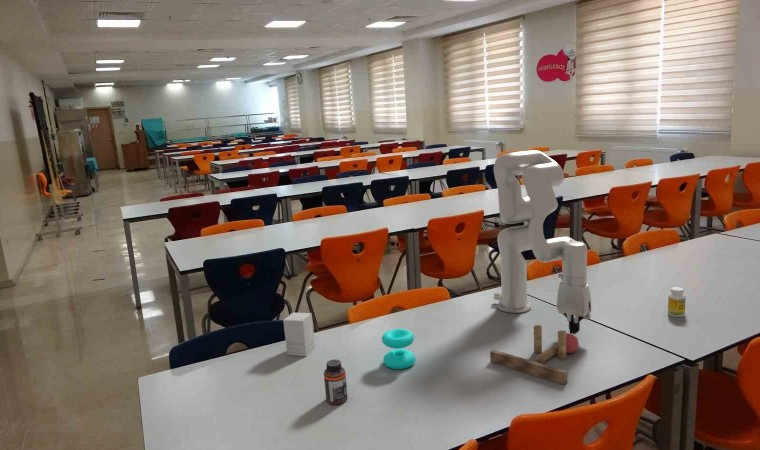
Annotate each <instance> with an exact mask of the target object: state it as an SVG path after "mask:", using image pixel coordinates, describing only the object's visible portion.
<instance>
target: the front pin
mask: <svg viewBox="0 0 760 450" xmlns="http://www.w3.org/2000/svg"><path fill="white" fill-rule="evenodd" d="M556 354H558V347H555V346H550V347H549V348H548V349H546V350H544V351H542V353H539V354H538V355H537V356H535V362H537V363H541V364H544V362H546V361H547V360H549V359H550V358H552V357H553V356H555V355H556Z"/></svg>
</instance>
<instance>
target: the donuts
mask: <svg viewBox="0 0 760 450" xmlns="http://www.w3.org/2000/svg"><path fill="white" fill-rule="evenodd" d="M414 340H415V336H414V334H413V332H412V331H410V330H409V329H405V328H393V329H390V330H387V331H385V332H384V333H383V334H382V337H381V341H382V342H381V343H382V344H383V345H385V346H386V347H387V348H391V349H392V350H390V351H387V352H386V353H385V354H384V355H383V356H384V357H383V358H382V359H383V364H384V365H385V366H386V367H388V368H389V369H393V370H405V369H408V368H411V366H413V365H414V364H415V362H416V355H415V354H414V353H413V351H411V350H408V349H405V348H407V347H409V346H411V344H413V342H414Z"/></svg>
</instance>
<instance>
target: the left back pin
mask: <svg viewBox="0 0 760 450" xmlns="http://www.w3.org/2000/svg"><path fill="white" fill-rule="evenodd" d="M542 327H543V326H542V325H540V324H534V325H533V352H534V353H536V354H541V353H543V344H542V343H543V331H542V330H543V328H542Z"/></svg>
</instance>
